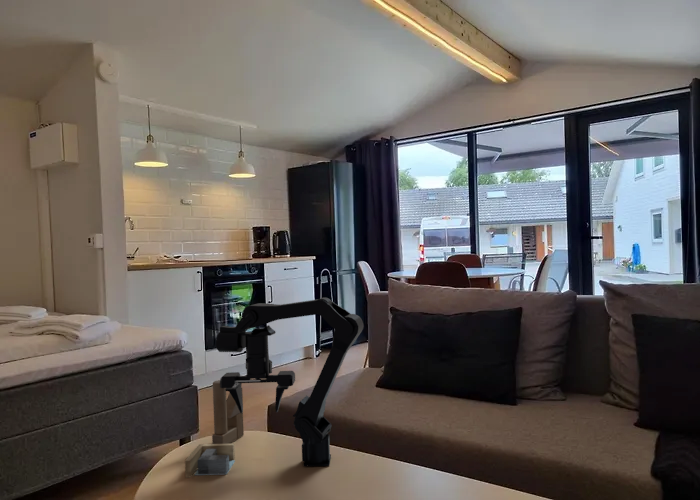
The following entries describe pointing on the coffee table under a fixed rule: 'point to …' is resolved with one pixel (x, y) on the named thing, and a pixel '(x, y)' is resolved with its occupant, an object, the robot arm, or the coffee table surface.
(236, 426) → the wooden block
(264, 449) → the coffee table surface
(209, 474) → the pad
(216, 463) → the bracket
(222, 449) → the corner walls
